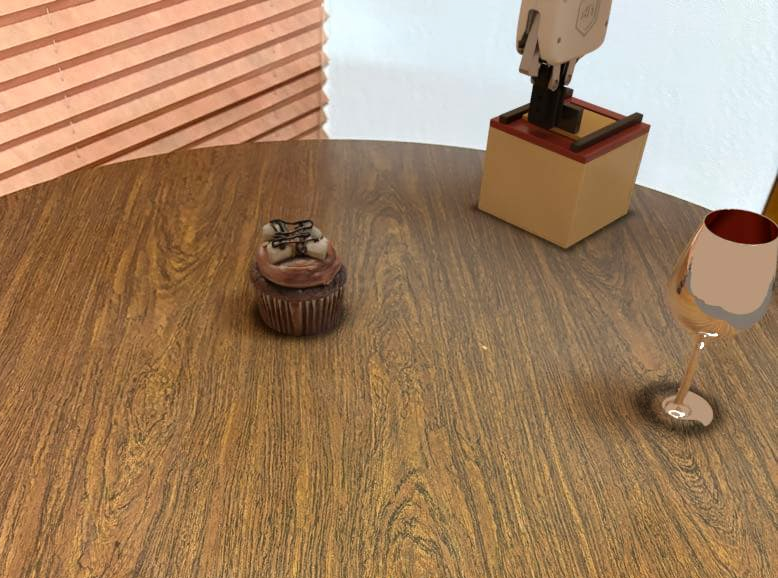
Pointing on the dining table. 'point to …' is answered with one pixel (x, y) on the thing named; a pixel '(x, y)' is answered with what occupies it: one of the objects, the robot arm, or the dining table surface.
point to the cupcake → (298, 279)
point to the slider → (578, 122)
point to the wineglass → (720, 290)
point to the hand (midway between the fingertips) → (543, 123)
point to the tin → (561, 173)
